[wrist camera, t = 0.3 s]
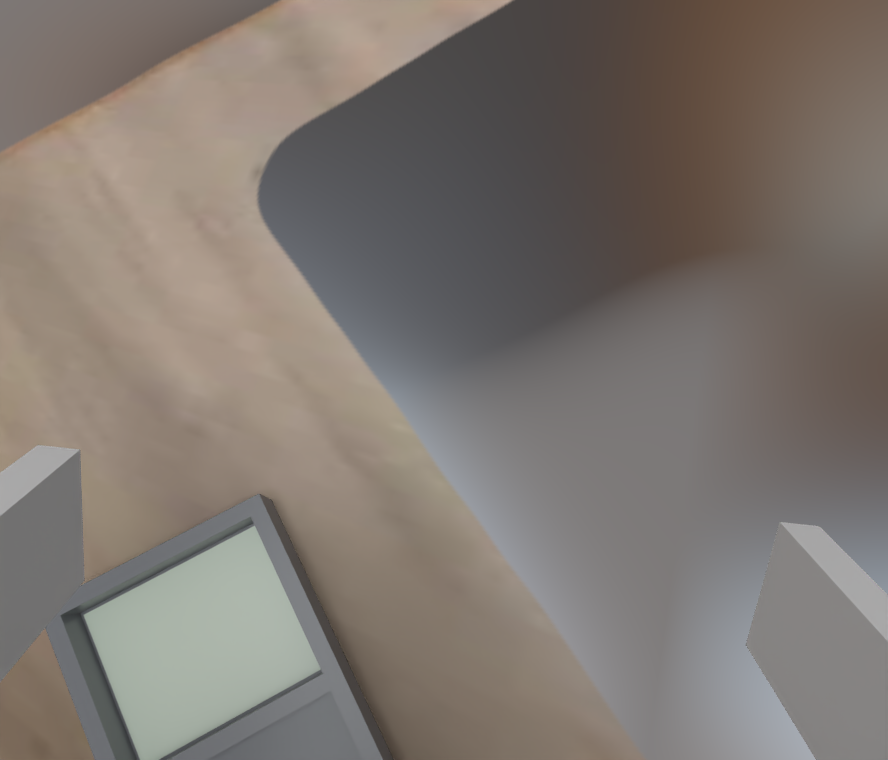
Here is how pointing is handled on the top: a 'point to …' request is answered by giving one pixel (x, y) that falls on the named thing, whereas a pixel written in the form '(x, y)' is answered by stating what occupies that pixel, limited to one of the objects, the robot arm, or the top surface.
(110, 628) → the compartment tray
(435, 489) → the top surface
